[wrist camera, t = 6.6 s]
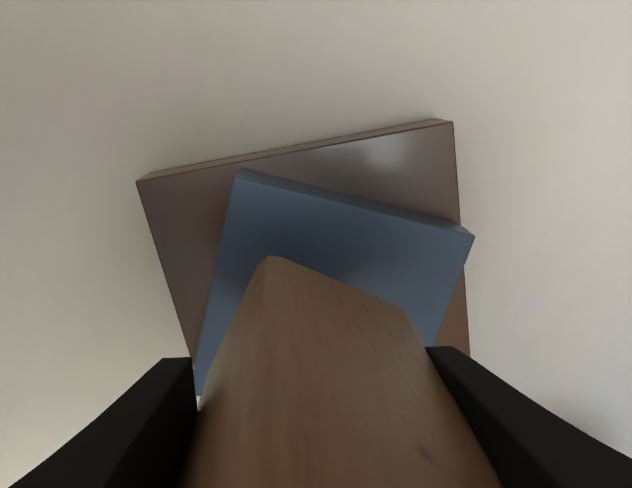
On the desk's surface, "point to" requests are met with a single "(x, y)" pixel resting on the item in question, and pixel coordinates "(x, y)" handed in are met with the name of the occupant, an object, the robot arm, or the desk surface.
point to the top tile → (332, 252)
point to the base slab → (313, 169)
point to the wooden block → (327, 396)
